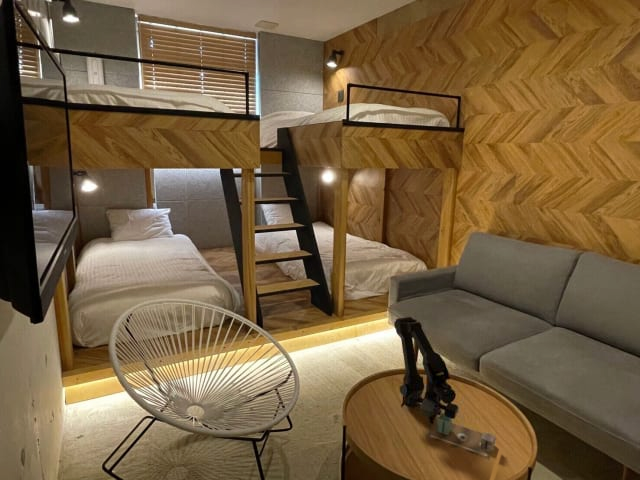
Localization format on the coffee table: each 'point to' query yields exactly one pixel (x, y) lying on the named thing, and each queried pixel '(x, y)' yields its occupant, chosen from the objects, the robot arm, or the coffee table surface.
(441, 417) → the sage green box
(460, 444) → the board
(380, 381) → the coffee table surface
